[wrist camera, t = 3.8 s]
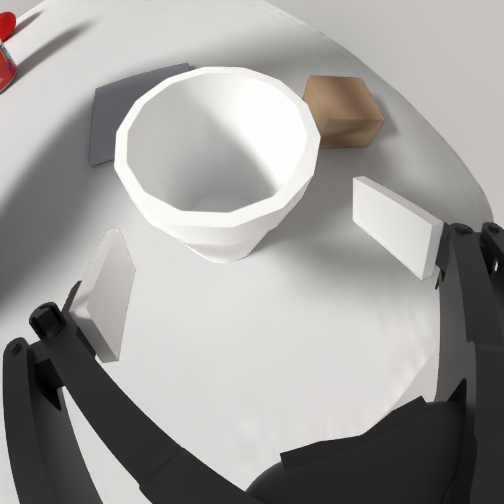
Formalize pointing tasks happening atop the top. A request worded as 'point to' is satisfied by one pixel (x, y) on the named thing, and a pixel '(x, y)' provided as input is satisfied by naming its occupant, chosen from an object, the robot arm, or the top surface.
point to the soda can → (6, 68)
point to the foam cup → (217, 157)
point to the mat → (120, 108)
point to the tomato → (6, 24)
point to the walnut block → (342, 111)
